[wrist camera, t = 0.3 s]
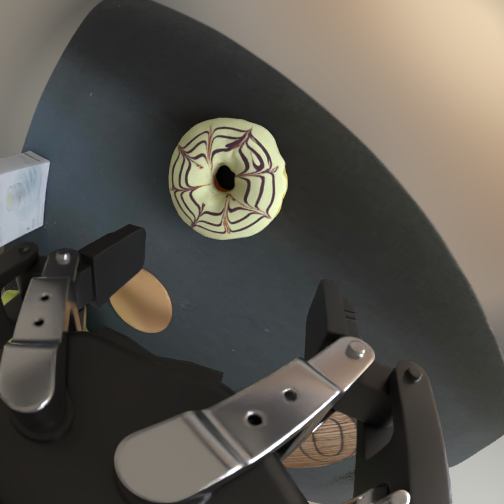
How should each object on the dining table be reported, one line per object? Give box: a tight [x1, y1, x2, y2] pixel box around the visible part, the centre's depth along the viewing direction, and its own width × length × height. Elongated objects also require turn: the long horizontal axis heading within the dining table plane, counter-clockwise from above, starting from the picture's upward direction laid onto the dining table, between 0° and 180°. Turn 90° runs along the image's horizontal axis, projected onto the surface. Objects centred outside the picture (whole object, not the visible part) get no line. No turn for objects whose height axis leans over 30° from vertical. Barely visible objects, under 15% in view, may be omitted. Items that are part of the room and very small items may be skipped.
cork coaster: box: [109, 269, 172, 333], centre depth 33 cm, size 10×10×1 cm
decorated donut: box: [168, 118, 287, 240], centre depth 23 cm, size 10×11×4 cm
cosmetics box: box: [0, 151, 50, 247], centre depth 25 cm, size 10×6×10 cm, turn 156°
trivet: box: [281, 411, 357, 468], centre depth 38 cm, size 25×25×2 cm
